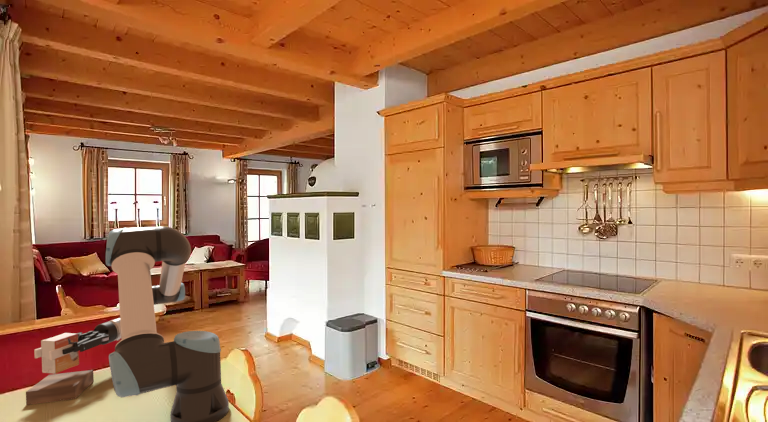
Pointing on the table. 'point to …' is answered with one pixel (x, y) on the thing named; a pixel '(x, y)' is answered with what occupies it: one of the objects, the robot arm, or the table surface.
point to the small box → (63, 361)
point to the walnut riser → (59, 387)
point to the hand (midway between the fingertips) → (43, 354)
